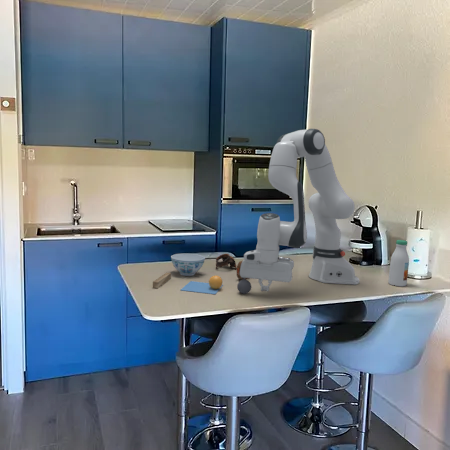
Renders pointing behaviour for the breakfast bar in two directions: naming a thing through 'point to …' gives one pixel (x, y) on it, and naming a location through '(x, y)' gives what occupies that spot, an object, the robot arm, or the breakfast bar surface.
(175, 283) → the breakfast bar surface
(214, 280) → the orange ball
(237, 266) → the tin
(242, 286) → the grey ball
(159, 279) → the wood strip
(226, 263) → the brown hollow arched shell
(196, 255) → the chinaware
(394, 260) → the milk bottle
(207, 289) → the blue mark
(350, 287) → the breakfast bar surface
